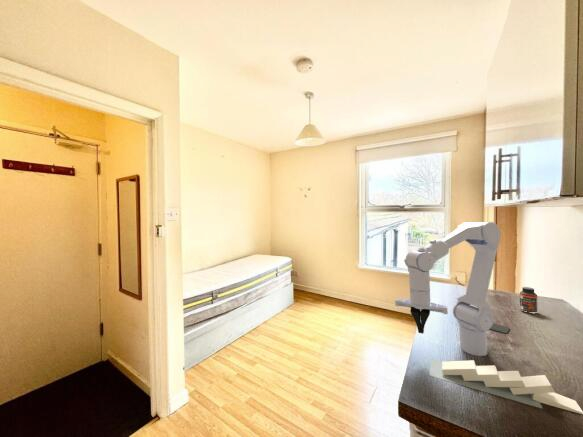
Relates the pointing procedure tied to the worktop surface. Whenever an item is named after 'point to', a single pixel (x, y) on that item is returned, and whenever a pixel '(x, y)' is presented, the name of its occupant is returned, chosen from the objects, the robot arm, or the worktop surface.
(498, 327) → the smartphone
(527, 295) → the supplement bottle
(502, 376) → the domino
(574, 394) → the worktop surface
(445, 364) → the head domino
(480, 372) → the domino
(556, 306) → the worktop surface
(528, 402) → the board
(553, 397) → the domino
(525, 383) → the domino
